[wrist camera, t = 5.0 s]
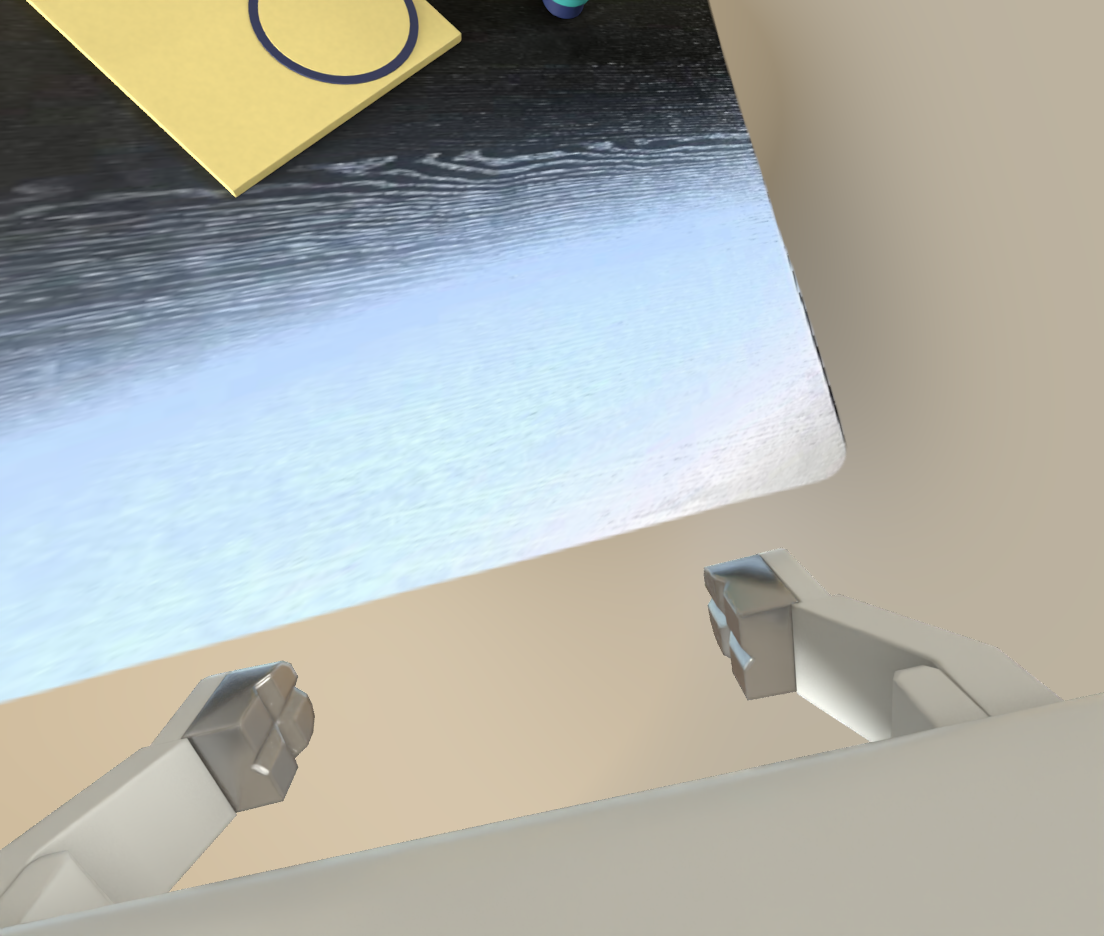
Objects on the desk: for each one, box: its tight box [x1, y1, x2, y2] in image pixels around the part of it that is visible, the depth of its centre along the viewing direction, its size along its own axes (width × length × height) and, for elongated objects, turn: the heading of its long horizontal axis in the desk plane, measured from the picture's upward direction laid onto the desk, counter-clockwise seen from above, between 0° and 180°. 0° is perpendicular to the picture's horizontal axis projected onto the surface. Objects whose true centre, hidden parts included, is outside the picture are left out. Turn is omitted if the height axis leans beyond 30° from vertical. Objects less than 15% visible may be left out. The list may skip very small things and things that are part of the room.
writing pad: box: [26, 0, 461, 197], centre depth 35 cm, size 20×20×1 cm
